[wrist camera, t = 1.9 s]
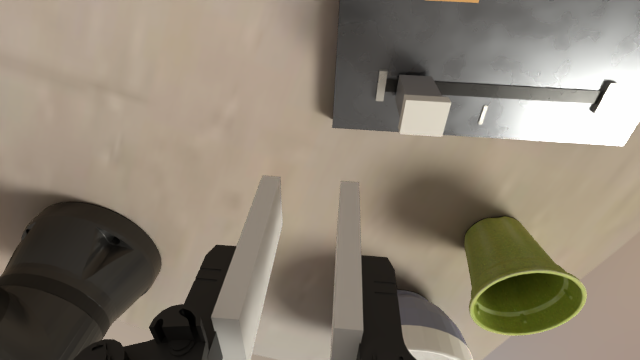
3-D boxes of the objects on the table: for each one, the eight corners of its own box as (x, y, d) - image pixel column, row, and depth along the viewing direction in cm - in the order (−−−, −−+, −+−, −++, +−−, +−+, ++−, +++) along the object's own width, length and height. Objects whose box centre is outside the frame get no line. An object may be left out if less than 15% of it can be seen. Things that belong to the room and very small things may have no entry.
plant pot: (495, 187, 34) (533, 255, 27) (561, 227, 36) (612, 300, 29) (430, 242, 39) (447, 312, 32) (491, 275, 41) (520, 346, 34)
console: (333, 119, 31) (332, 130, 29) (346, -117, 21) (346, -121, 20) (612, 137, 30) (626, 148, 28) (756, -104, 20) (790, -106, 19)
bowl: (313, 299, 46) (305, 373, 39) (420, 254, 40) (437, 332, 32) (378, 353, 53) (382, 425, 45) (479, 322, 47) (504, 400, 39)
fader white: (392, 101, 27) (399, 134, 23) (397, 71, 26) (405, 100, 22) (428, 104, 27) (442, 136, 23) (434, 73, 26) (451, 102, 22)
